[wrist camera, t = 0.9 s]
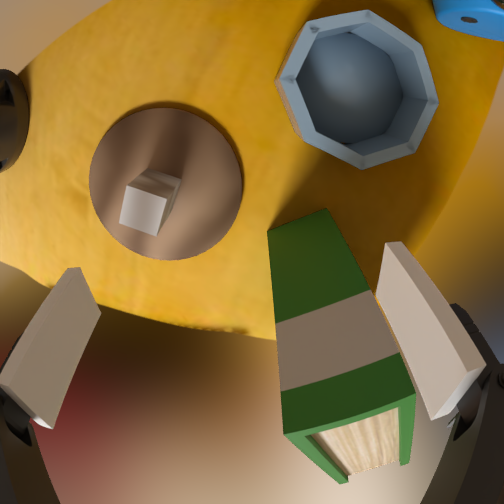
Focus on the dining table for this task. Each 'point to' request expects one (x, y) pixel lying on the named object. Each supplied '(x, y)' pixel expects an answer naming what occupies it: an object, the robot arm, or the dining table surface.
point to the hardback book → (336, 354)
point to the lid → (165, 184)
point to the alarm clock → (472, 17)
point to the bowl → (357, 88)
